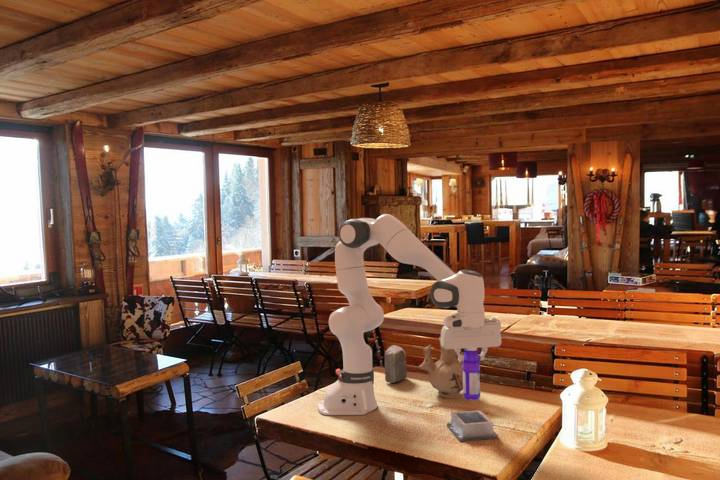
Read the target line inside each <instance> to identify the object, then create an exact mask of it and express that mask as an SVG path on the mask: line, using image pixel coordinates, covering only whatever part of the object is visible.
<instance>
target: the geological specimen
mask: <svg viewBox="0 0 720 480" xmlns="http://www.w3.org/2000/svg"><path fill="white" fill-rule="evenodd" d="M383 355H384V378H385V382H386V383H390V384H391V383H393V384H394V383H397V382H400V381H403V380H404V379H406V378H407V377H408V375H407V373H408V372H407V359H406V358H407V354H406V352H405V350H404V349H403V348H402V347H401V346H398V345H396V344H392V345H390V346H388V347H387V349H386V350H385V352H384V354H383Z"/></svg>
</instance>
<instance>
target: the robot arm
mask: <svg viewBox="0 0 720 480" xmlns="http://www.w3.org/2000/svg"><path fill="white" fill-rule="evenodd" d="M338 237H339V242H337V243H336V244H335V249H334V264H335V265H334V266H335V273H336V275H335V276H336V282H337V289H338V291H339V293H340V294H342V295H344V296H345V298H346V300H347V302H348V306H347V305H346V306H342V307H340V308H338V309H335V311H333V312H331V313H330V315H329V318H328V327H329V330H330V332H331V333H332V334H333V335H334V336H335V337H336V338H337V340H339V343H340V346H341V349H342V350H341V351H342V362H343V363H342V364H343V368H342V369H340V368H337V369H335V374H336V375H337V380H336V381H335V382H334V383H332V384H331V385H329V386H328V387H327V388H326V389H325V392H324V394H323V399H322V400H320V401H319V402H318V404H317V410H318V412H319V413H320V414H322V415H324V416H364V415H366V414H368V413H369V412H371V411H374V410H375V409H377V407H378V404H377V399H376V395H375V390H374V389H375V388H374V383H375V371H374V369H373V349H372V347H371V346H370V345H369V344H367V343H366V340H365V338H364V333H366V332H371V331H373V330H374V329H376V328H378V327H379V326H381V325H382V323H383V322H384V320H385V313H384V310H383V308H382V306H381V305H380V304H378V303H377V302H376V300H375V299H374V297H373V296H372V293H371V291H370V289H369V286H368V285H369V284H368V279H367V274H366V267H365V259H364V253H365V251H366V250H368V251H369V250H372V249H374V248H376V247H377V246H380V245H381V247H383V248H384V249H385V250H386V252H387V253H388V254H389V255H390V256H391V257H392V258H393V259H394V260H396V261H397V262H399V263H401V264H406V265H412V266H416V267H417V266H418V267H420V268H422V269H424V270H426V271H427V272H428V273H429V274H430V275H431V276H432V277H433V278H435V279H436V280H437V281H434V283H433V284H432V285H431V287H430V289H429V296H430V297H429V298H430V299H431V301H432V302H431V303H433V304H434V305H435V306H436V307H439V308H441V309H449V308H453V307H454V308H456V309H457V310H456V311H457V312H456V313H453V314H451V315H448V316H446V317H443V319H442V322H443V324H444V325H443V326H442V328H441V330H440V337H441V339H440V342H439V345H440V344H441V346H442V347H443V348H444V349H455V353H456V356H457V359H458V361H459V362H464V355H461V352H462V350H461V349H465V348H470V347H476V348H477V349H478V348H479V349H480V348H481V352H480V354H479V353H478V356H479V358H480V360H479V362H481V361H485V356H486V354H487V352H488V351H489V350H488V348H496V347H500V346H501V345H502V343H503V342H502V334H501V329H502V323H501V321H500V320H499V319H497V318H496V317H493V318H485V307H484V301H485V281H484V278H483V276H482V274H481V273H479V272H478V271H476V270H472V269H460V270H459V271H458V272H456V271H454V270H453V269H452V268H451V267H450V266H449V265H447V263H445V262H444V260H443V259H441V258H440V257H439V256H438V255H437V254H436V253H435V252H433V250H431V249H430V248H428V246H426V245H425V244H424V243H423V242H422V241H420V239H419V238H418V237H417V236H416V235H415V234H414V233H413V232H412V231H411V230H410V229H409V228H408V227H407V226H406V224H404V223H403V222H402V221H400V220H399V219H398V218H397V217H396V216H393V215H392V214H389V213H384V214H381V215H380V216H378V217H377V218H375V217H374V218H373V217H372V218H371V217H370V218H369V217H360V218H350V219H348V220H346V221H344V222H342V224H341V225H340V226H339V229H338ZM441 346H440V347H441Z"/></svg>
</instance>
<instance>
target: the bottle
mask: <svg viewBox="0 0 720 480" xmlns="http://www.w3.org/2000/svg"><path fill="white" fill-rule="evenodd" d="M478 354H479V353H478V348H476V347H470V348H464V353H463V356H464V362H463V390H462V394H463V397H464V399H465V400H469V401H477V400H479V399H480V398H481V381H480V380H481V379H480V377H481V376H480V375H481V374H480V373H481V365H480V361H479V360H480V358H479V356H478Z"/></svg>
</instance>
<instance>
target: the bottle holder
mask: <svg viewBox="0 0 720 480" xmlns="http://www.w3.org/2000/svg"><path fill="white" fill-rule="evenodd" d="M446 428H447V429H448V430H449V431H450V432H451V434H452V435H453V436H454V437H455V438H456V439H457V440H458V442H459V443H462V442H472V441H484V440H496V438H497V439H499V435H498V434H497V433H496V432H495V431H494V421H492V420H491V419H490V418H489V417H488V416H487V415H486V414H485V413H484V412H483V411H482V410H480V409H479V410H467V411H465V410H464V411H456V412H455V411H453V412H451V413H450V422H449V423H446Z"/></svg>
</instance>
